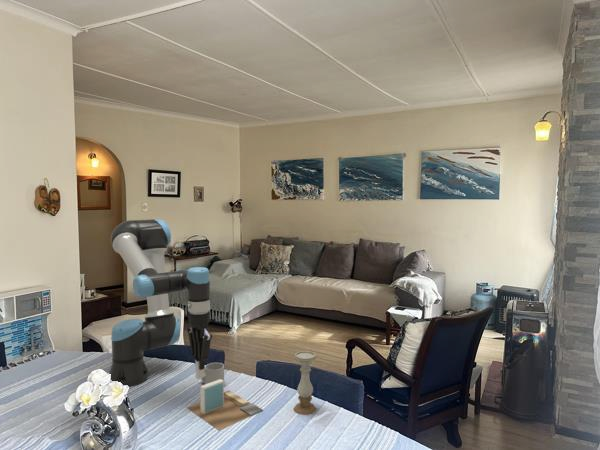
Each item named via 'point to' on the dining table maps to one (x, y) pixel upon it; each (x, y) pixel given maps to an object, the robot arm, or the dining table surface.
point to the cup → (213, 372)
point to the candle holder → (305, 384)
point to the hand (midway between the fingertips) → (200, 377)
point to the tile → (212, 396)
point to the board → (221, 414)
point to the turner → (242, 403)
